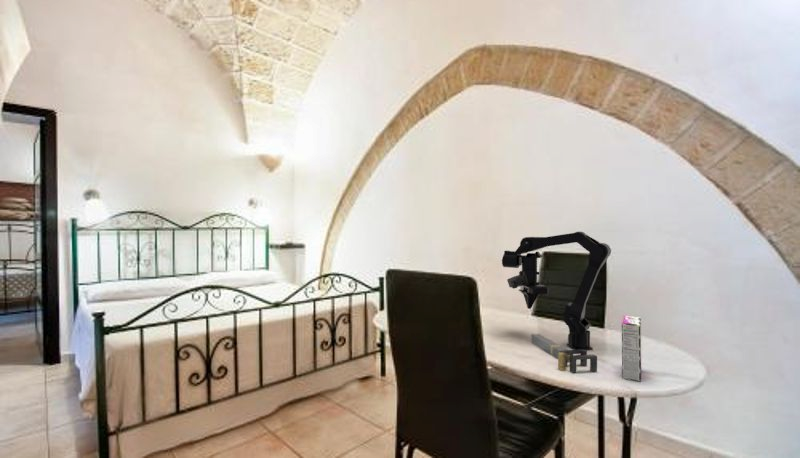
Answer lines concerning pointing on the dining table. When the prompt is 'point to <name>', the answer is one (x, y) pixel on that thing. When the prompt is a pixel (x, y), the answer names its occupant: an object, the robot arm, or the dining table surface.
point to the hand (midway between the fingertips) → (529, 308)
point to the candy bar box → (631, 348)
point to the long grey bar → (547, 345)
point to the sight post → (562, 361)
